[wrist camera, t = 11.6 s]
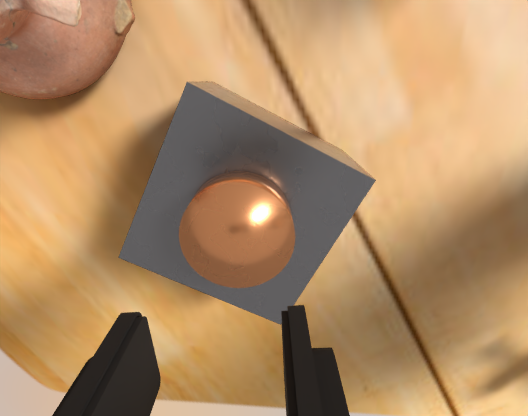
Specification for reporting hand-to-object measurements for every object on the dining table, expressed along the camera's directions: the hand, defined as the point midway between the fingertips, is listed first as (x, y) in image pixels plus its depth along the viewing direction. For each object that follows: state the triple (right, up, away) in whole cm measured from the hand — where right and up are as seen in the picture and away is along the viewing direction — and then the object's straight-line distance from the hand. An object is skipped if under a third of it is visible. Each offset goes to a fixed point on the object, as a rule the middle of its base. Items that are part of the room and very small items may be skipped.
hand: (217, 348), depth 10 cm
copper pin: (0, +7, +17) cm, 18 cm away
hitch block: (0, +7, +18) cm, 19 cm away
